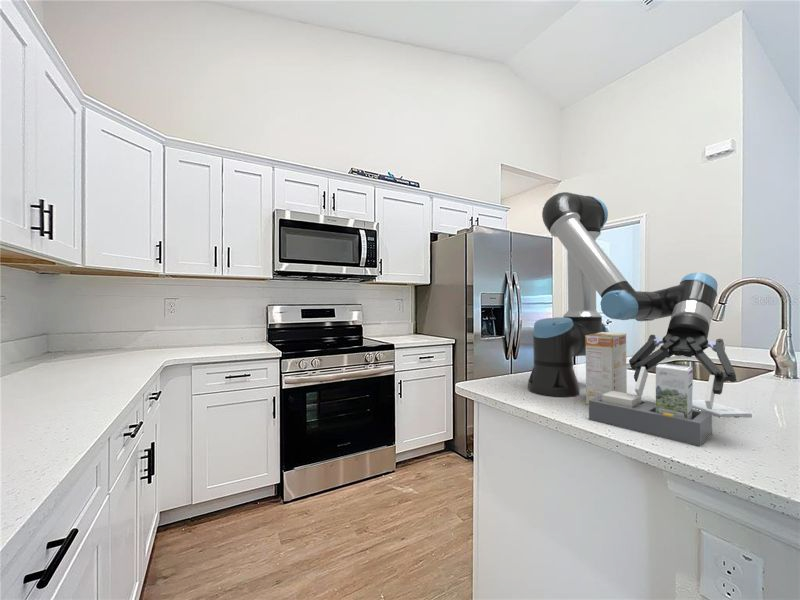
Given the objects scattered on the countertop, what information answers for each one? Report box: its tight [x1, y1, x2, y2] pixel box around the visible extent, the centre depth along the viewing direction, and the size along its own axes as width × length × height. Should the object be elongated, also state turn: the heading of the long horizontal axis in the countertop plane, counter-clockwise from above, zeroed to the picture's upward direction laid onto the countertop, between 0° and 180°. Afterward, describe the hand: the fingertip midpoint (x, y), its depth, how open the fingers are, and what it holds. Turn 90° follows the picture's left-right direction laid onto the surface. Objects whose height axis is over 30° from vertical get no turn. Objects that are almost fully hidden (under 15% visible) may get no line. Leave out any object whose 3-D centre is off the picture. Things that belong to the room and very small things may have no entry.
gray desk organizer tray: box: [588, 391, 713, 447], centre depth 81 cm, size 21×11×6 cm, turn 39°
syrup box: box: [655, 363, 694, 420], centre depth 77 cm, size 6×6×14 cm
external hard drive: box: [692, 399, 753, 418], centre depth 94 cm, size 2×8×12 cm
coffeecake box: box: [585, 331, 628, 406], centre depth 101 cm, size 15×7×20 cm, turn 134°
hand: (670, 398), depth 75 cm, fingers open, 11 cm apart
